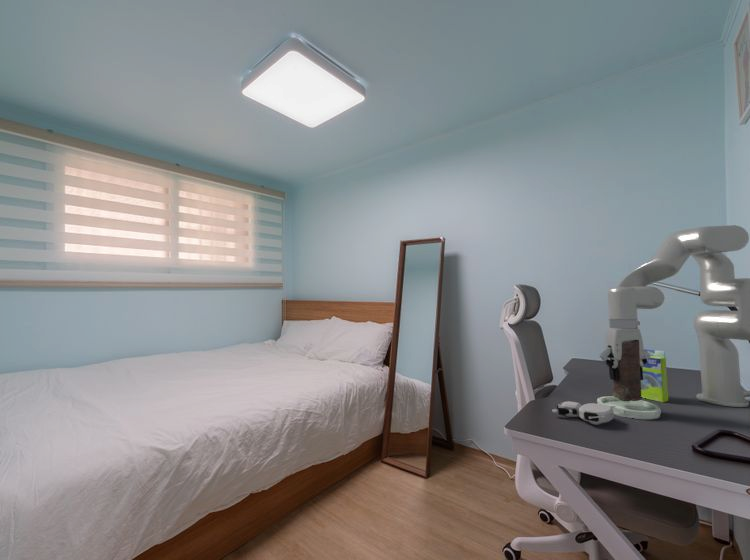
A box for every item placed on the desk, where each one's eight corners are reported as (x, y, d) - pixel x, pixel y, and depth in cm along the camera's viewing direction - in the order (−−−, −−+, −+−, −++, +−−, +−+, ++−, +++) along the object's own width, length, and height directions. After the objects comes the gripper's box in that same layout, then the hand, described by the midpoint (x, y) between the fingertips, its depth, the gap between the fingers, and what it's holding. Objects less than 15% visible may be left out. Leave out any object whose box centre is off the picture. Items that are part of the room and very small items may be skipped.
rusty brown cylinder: (648, 404, 103) (644, 339, 105) (624, 404, 104) (621, 340, 105) (630, 397, 111) (626, 337, 112) (608, 397, 111) (604, 337, 112)
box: (629, 395, 124) (626, 348, 125) (634, 393, 126) (632, 347, 127) (663, 403, 114) (660, 352, 115) (669, 401, 116) (666, 351, 117)
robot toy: (550, 420, 102) (608, 431, 91) (549, 405, 102) (606, 414, 91) (564, 411, 110) (619, 419, 99) (563, 397, 111) (617, 404, 100)
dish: (631, 402, 116) (630, 395, 116) (674, 418, 100) (674, 411, 100) (586, 403, 115) (586, 396, 115) (623, 420, 99) (623, 412, 99)
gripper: (639, 323, 113) (642, 376, 112) (589, 324, 112) (592, 377, 111) (659, 325, 105) (662, 381, 104) (606, 326, 105) (609, 383, 104)
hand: (626, 379), depth 108 cm, fingers closed on rusty brown cylinder, 7 cm apart
